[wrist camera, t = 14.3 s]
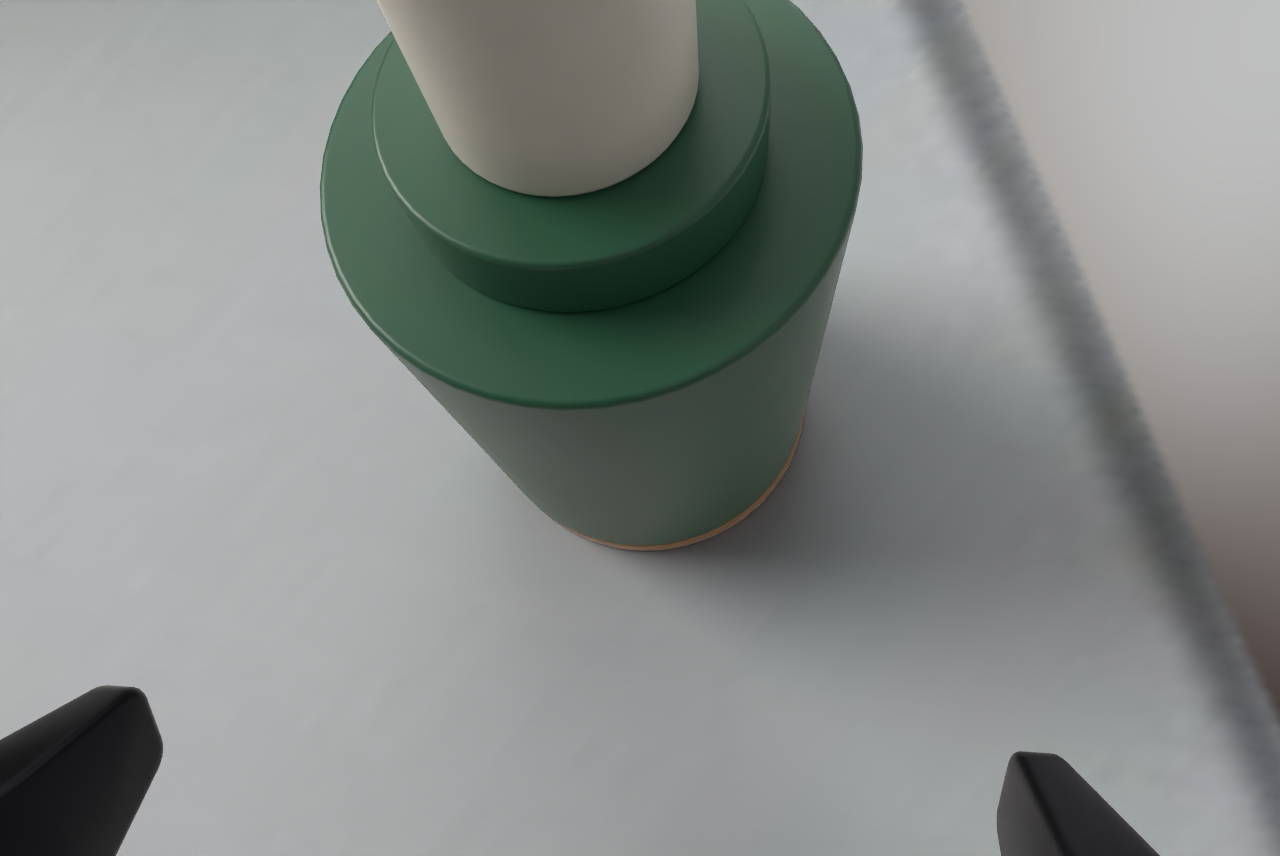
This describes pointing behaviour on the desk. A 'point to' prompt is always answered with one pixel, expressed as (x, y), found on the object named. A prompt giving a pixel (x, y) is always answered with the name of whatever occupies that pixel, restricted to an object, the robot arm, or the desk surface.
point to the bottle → (602, 239)
